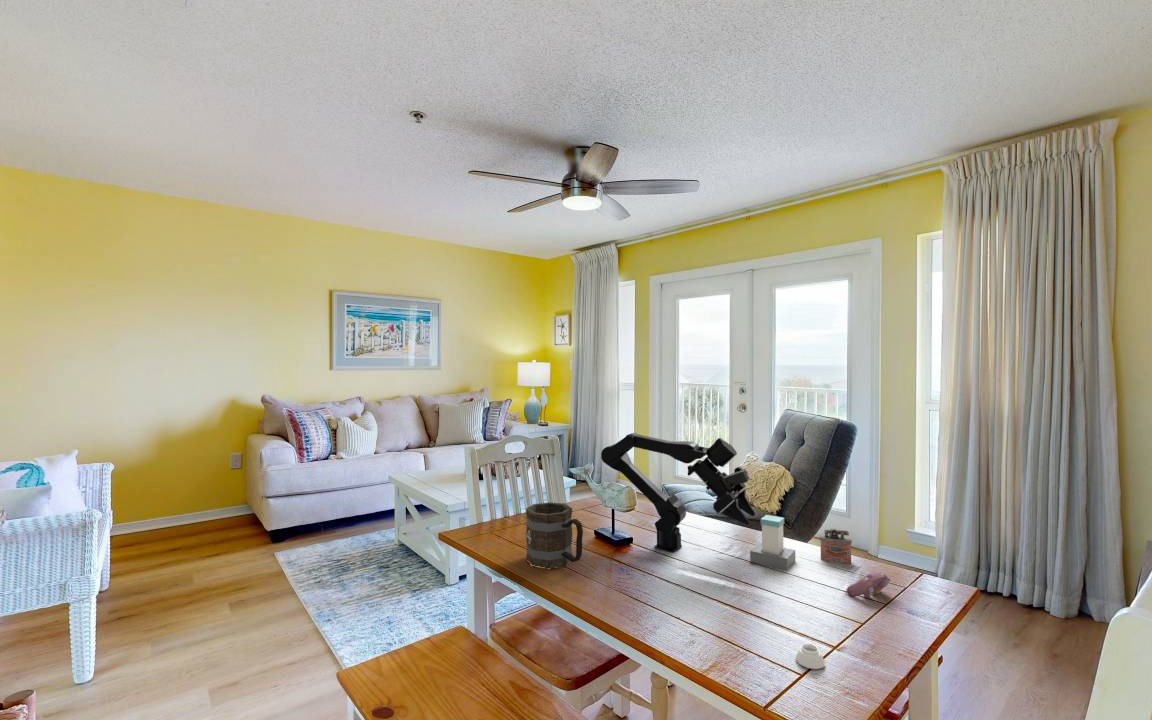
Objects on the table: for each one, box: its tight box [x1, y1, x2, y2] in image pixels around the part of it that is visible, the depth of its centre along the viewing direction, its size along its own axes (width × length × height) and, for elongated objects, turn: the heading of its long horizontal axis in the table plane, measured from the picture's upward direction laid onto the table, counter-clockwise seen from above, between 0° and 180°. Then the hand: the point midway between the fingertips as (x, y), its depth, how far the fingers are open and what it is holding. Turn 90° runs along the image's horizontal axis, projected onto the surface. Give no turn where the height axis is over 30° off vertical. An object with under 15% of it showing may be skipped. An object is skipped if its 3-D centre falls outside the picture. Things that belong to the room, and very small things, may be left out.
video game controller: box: [846, 571, 891, 598], centre depth 127 cm, size 10×5×7 cm, turn 118°
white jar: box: [795, 643, 826, 670], centre depth 99 cm, size 5×3×5 cm
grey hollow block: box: [749, 542, 796, 571], centre depth 146 cm, size 10×8×4 cm
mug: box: [525, 501, 584, 569], centre depth 149 cm, size 20×14×15 cm
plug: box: [760, 514, 785, 555], centre depth 146 cm, size 5×5×12 cm
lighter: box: [819, 527, 853, 565], centre depth 147 cm, size 8×3×10 cm, turn 68°
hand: (751, 519), depth 149 cm, fingers open, 9 cm apart
